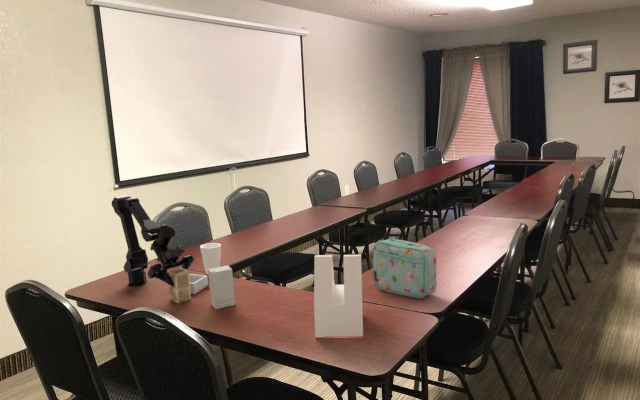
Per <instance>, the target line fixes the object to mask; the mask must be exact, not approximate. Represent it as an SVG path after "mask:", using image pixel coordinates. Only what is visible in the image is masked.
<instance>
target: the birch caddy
mask: <svg viewBox="0 0 640 400" xmlns="http://www.w3.org/2000/svg"><path fill="white" fill-rule="evenodd" d="M167 273H168V275H169V277H170V278H171V280H172V282H173V284H174V286H173V287H172V286H170V285H169V284H168V291H169V292H168V293H169V300H170V301H171V302H173V303H176V304H181V303H184V302H186V301H189V300H192V294H191V293H190V281H189V274H190V272H189V269H188V270H186V269H183V268H180V267H179V268H176V269H171V270H169V271H168V270H167Z"/></svg>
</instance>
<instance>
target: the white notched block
mask: <svg viewBox="0 0 640 400" xmlns="http://www.w3.org/2000/svg"><path fill="white" fill-rule="evenodd" d="M313 265H314V271H313V272H314V274H313V276H314V278H313V280H314V284H313V285H314V286H313V309H314V310H313V311H314V331H315V332H314V335H315V337H325V336H363V337H364V321H363V319H364V316H363V313H364V312H363V279H362V278H363V277H362V274H363V273H362V254H343V284H336V283H335V273H334V272H335V271H334V261H333V254H322V255H321V254H320V255H319V254H317V255H316V254H315V255H314V264H313Z"/></svg>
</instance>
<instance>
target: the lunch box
mask: <svg viewBox="0 0 640 400" xmlns="http://www.w3.org/2000/svg"><path fill="white" fill-rule="evenodd" d="M372 253H373V254H372V261H371V266H372V279H373V283H374V285H375V287H376V288H377V289H379V290H381V291H383V292H386V291H387V293H390V292H391V293H390V294H394V293H395V295H398V294H399V295H400V296H403V295H404V296H405V297H407V296H409V297H408V298H412V297H413V299H423V298H425V297H426V296H428V295H432V294H434V293H435V292H436V289H437V253H436V251H435V249H434V248H433V247H430V246H428V245H425V244H422V243H418V242H412V241H408V240H404V239H396V237H395V236H392V237H389V239H388V238H387V239H384V240H378V241H377V242H375V244H374V246H373V249H372ZM399 295H398V296H399Z"/></svg>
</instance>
